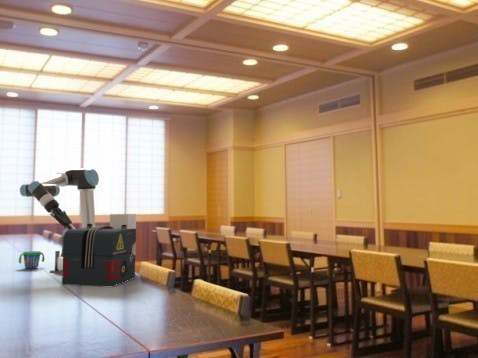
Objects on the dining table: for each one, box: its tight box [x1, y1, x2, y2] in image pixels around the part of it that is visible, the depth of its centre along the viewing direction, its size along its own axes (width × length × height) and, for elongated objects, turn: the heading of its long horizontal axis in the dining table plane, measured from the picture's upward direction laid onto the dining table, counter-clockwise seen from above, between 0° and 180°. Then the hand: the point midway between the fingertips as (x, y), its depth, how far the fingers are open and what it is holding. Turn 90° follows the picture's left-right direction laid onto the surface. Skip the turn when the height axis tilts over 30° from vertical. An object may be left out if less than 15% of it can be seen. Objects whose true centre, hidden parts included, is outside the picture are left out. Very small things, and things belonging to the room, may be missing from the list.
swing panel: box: [57, 257, 63, 270], centre depth 277 cm, size 21×2×7 cm, turn 48°
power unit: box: [61, 224, 137, 287], centre depth 254 cm, size 28×28×30 cm
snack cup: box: [18, 250, 45, 270], centre depth 300 cm, size 16×10×10 cm
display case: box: [109, 213, 137, 256], centre depth 283 cm, size 11×11×35 cm
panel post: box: [49, 250, 63, 274], centre depth 285 cm, size 8×8×12 cm
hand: (75, 233), depth 266 cm, fingers closed
